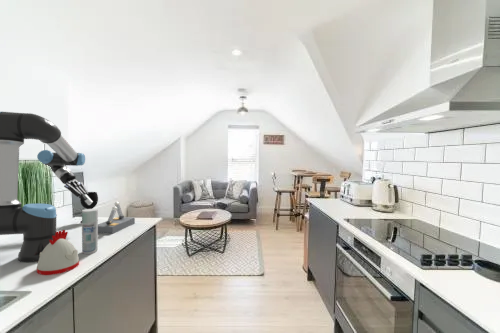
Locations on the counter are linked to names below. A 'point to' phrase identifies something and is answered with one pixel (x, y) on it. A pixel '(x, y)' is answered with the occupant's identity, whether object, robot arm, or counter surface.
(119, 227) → the switch box
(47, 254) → the white chicken hat
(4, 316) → the counter surface
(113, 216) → the lever near
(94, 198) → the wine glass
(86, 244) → the spray can
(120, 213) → the lever far
